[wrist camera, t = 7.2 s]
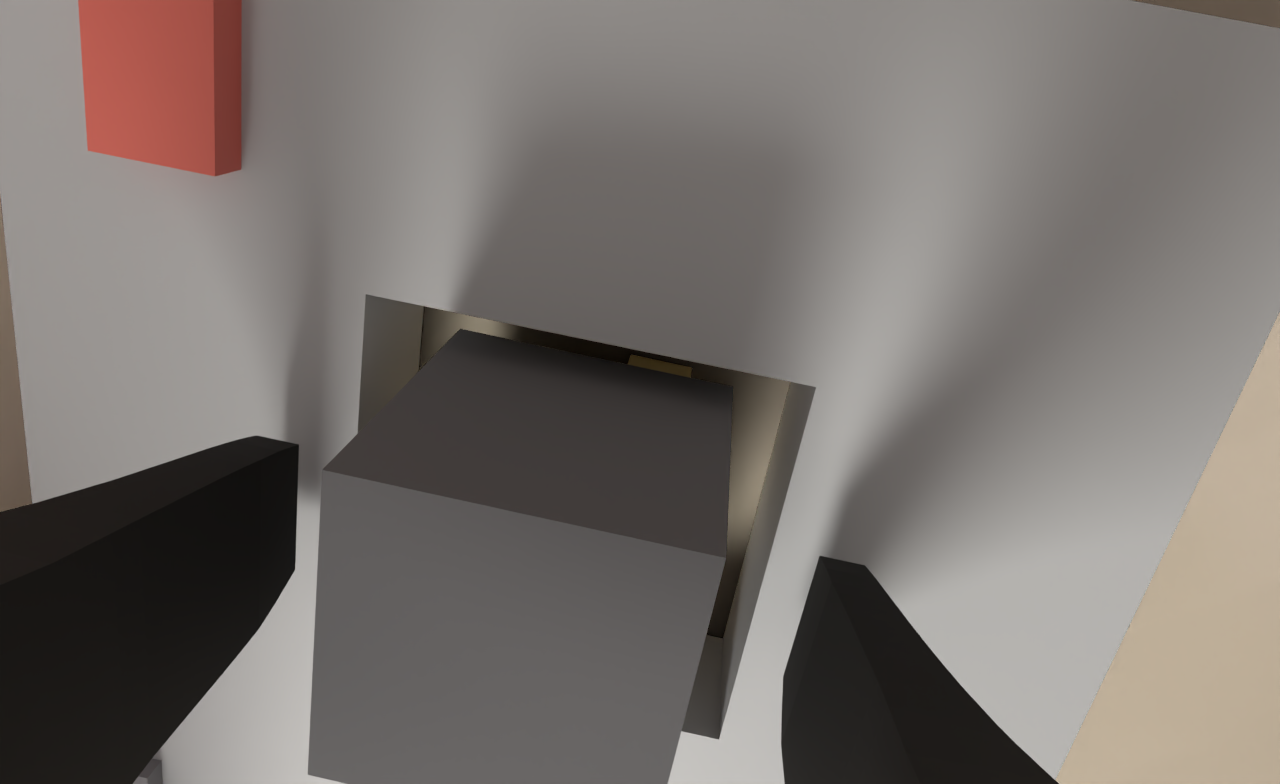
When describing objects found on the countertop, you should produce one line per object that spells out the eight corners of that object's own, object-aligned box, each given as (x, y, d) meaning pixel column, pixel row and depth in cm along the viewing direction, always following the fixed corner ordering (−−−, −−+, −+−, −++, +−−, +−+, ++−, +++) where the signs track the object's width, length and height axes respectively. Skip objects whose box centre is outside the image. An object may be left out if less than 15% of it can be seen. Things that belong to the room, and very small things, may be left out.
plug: (684, 563, 16) (649, 853, 10) (462, 514, 16) (307, 773, 10) (734, 351, 14) (725, 558, 8) (488, 300, 14) (321, 470, 9)
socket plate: (915, 891, 18) (948, 1055, 15) (149, 718, 18) (39, 843, 16) (1273, 48, 12) (1447, 52, 9) (107, -172, 12) (-88, -235, 9)
